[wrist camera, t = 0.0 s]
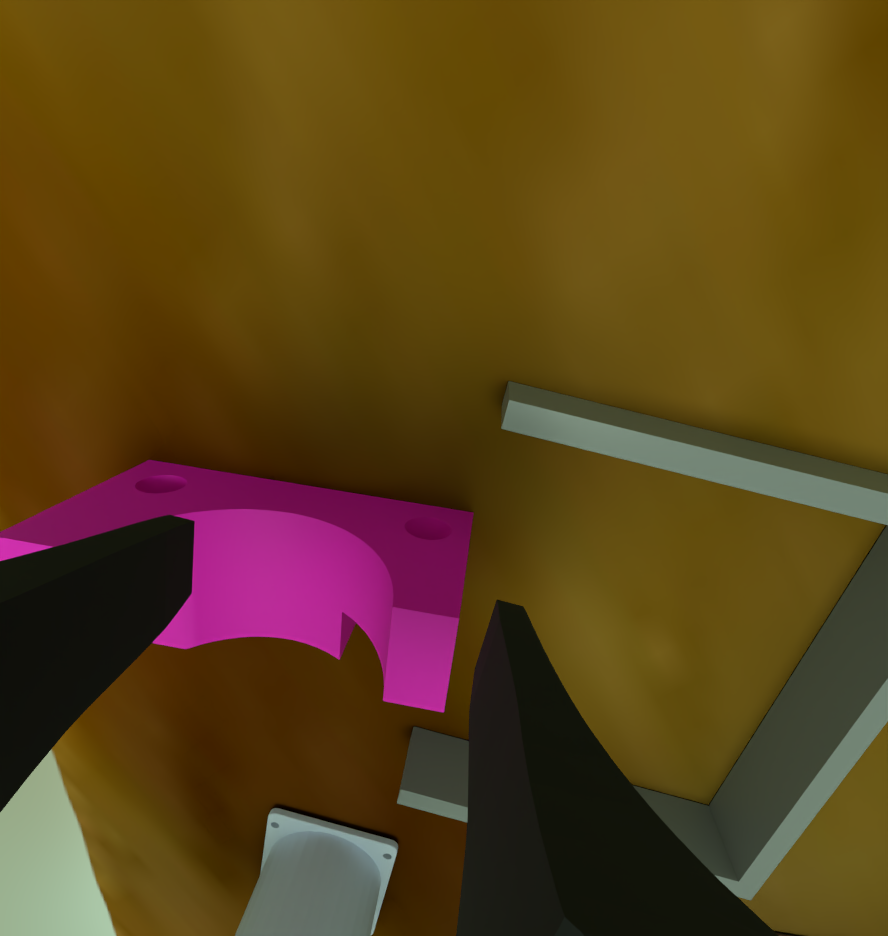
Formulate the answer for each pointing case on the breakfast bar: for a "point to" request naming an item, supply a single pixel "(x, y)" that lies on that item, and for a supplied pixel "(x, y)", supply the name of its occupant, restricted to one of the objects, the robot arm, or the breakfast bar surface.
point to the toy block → (292, 565)
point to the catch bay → (805, 694)
